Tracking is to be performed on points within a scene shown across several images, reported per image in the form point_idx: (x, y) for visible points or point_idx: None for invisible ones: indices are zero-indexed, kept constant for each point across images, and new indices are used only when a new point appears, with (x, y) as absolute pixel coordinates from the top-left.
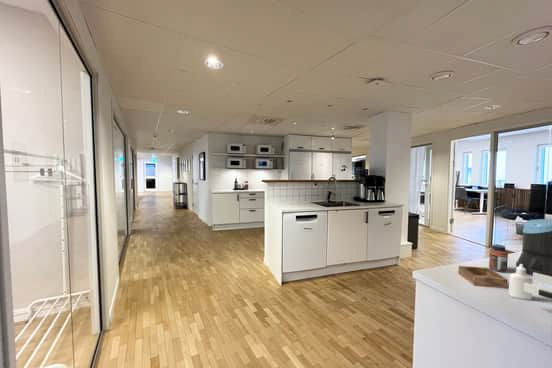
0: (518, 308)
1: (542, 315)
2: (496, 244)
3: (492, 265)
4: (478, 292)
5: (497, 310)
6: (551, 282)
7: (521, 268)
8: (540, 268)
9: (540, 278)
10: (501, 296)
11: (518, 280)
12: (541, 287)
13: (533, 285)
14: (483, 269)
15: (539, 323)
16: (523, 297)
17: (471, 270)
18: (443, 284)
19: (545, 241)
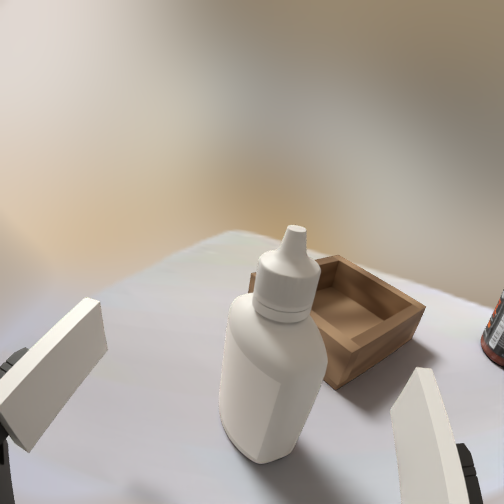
0: (90, 395)
1: (62, 460)
2: None
3: (488, 325)
4: (180, 312)
5: (43, 330)
6: (411, 485)
7: (269, 257)
8: None
9: (408, 424)
10: (196, 367)
11: (230, 332)
12: (40, 352)
13: (63, 325)
14: (400, 302)
15: None
16: (227, 428)
17: (361, 287)
18: (182, 257)
19: None
